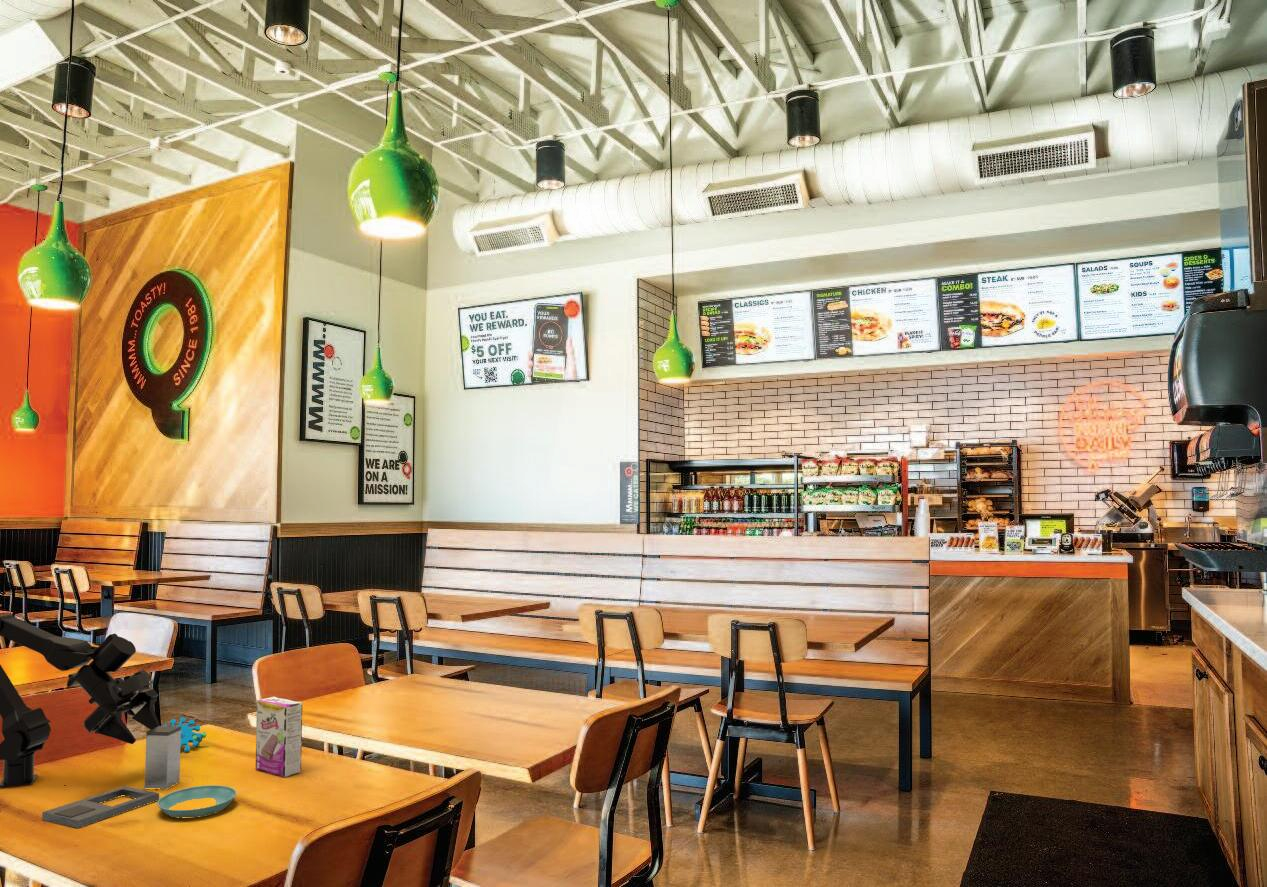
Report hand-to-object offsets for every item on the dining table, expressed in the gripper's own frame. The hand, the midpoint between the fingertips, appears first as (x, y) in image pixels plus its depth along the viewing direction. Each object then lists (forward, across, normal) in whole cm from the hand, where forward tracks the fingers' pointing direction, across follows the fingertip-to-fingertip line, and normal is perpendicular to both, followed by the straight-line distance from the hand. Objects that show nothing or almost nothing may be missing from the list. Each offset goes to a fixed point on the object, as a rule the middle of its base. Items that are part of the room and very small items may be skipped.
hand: (147, 736), depth 198 cm
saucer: (+22, -13, -6) cm, 26 cm away
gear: (+2, +27, +13) cm, 30 cm away
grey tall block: (+10, 0, +5) cm, 11 cm away
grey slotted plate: (+8, -15, +7) cm, 19 cm away
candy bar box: (+25, +12, -10) cm, 30 cm away
